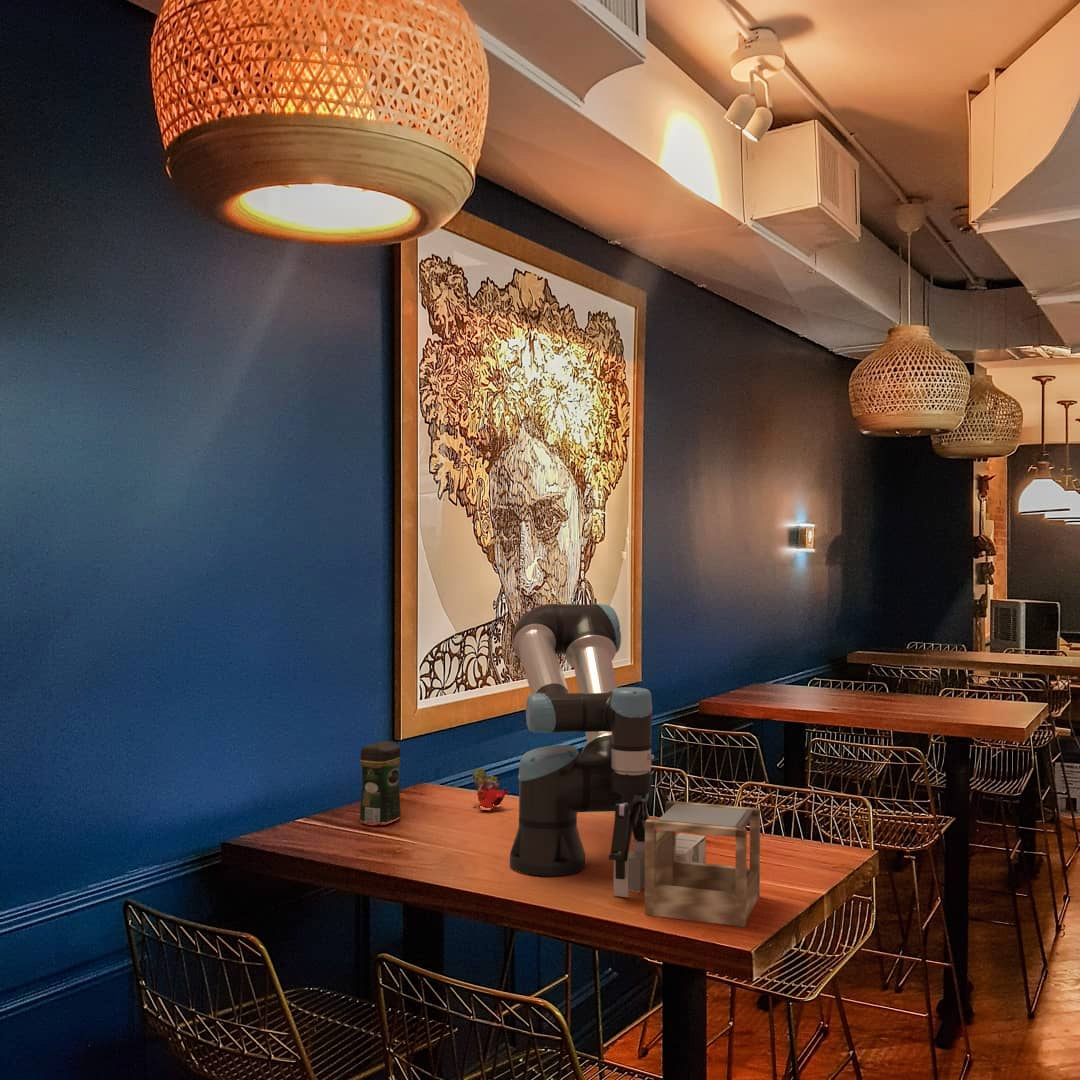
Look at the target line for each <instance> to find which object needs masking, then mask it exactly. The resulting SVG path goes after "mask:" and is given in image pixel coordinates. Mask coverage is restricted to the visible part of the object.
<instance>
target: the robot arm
mask: <svg viewBox="0 0 1080 1080" xmlns="http://www.w3.org/2000/svg"><path fill="white" fill-rule="evenodd" d="M620 628H621V624H620V620H619V617H618V615H617V612H616V611H615V609H614V608H613V607H612V606H610V605H609V604H603V603H596V602H595V603H590V604H587V603H586V604H584V603H582V604H579V603H575V604H573V603H567V604H566V603H565V604H564V603H562V604H561V603H545V604H542V605H541V604H540V605H537V606H536V607H533V608H532V609H530V610H528V611H527V612H526V613H524V614H523V615H522V616H521V617H520V618H519V620H517V623H516V624H515V627H514V629H513V632H512V636H511V639H512V641H511V643H512V646H513V650H514V653H515V655H516V656H517V657H518V659H520V660H521V662H522V666H523V671H524V673H525V677H526V680H527V683H528V688H529V690H530V693H531V694H529V695H528V696H527V698H526V700H525V701H526V702H525V719H526V727H527V728H528V730H529V731H530V732H532V733H545V734H554V733H581V732H582V733H585V738H586V744H585V745H584V747H583V748H582V751H581V752H579V750H578V748H577V747H576V746H575V745H570V744H563V745H561V744H555V745H547V746H543V747H541V746H540V747H537V748H534V749H531V750H527V751H526V752H525V753H524V754H523V755H522V756H521V758H520V761H519V768H518V776H517V778H518V780H519V782H518V786H519V788H518V792H519V793H518V827H517V830H516V834H515V837H514V840H513V844H512V847H511V849H510V853H509V867H510V866H511V867H512V868H513V869H515V870H517V871H516V872H518V871H520V872H519V873H521V872H523V873H522V874H524V873H528V874H527V875H530V874H532V875H531V876H538V875H542V876H541V877H557V876H566V875H567V874H568V875H572V874H575V873H578V872H581V871H583V870H584V869H585V868H586V854H585V853H586V852H585V850H584V846H583V843H582V840H581V837H580V834H579V830H578V813H599V812H605V813H606V812H614V821H613V829H612V839H611V845H610V846H611V847H610V854H609V855H608V860H609V861H613V896H614V897H615V896H616V897H623V898H628V897H630V891H629V860H627V859H628V853H629V851H630V847H631V842H632V851H636V852H645V821H646V820H647V819H649V818H650V817H649V810H648V804H647V802H648V799H649V797H650V796H649V795H650V793H651V791H652V761H653V760H654V759H655V755H654V754H652V736H653V735H652V728H653V727H652V726H653V725H652V723H653V721H652V720H653V708H654V707H653V703H652V701H653V700H652V693H651V691H650V690H649V689H647V688H644V687H643V688H642V687H637V686H627V687H626V686H625V687H623V686H622V687H618V686H617V685H618V684H617V679H616V675H615V671H614V666H613V665H614V664H613V660H614V658H615V657H616V654H617V653H618V652H619V651H620V648H621V643H622V632H621V629H620ZM558 655H565V661H566V662H567V664H568V665H569V666H570V667H572V668H574V674H575V679H576V680H575V681H576V686H577V692H573V693H570V690H569V687H568V685H567V681H566V679H565V676H564V673H563V670H562V668H561V664H560V662H559V658H558ZM649 820H650V819H649ZM632 836H633V838H634V840H633V841H632ZM619 852H621V853H619ZM511 867H510V868H511ZM512 868H511V869H512ZM513 869H512V870H513ZM515 870H514V871H515ZM568 875H567V876H568Z"/></svg>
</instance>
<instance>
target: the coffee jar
mask: <svg viewBox="0 0 1080 1080" xmlns="http://www.w3.org/2000/svg"><path fill="white" fill-rule="evenodd" d="M400 748H401V747H400V745H399V744H398V742H396V741H390V740H382V741H378V742H374V743H371V744H366V745H364V746H363V747H362V748H361V749H360V757H359V758H360V759H359V763H360V766H361V775H362V777H361V792H360V793H361V794H360V795H361V796H360V808H359V821H360V820H362V821H365V822H374V823H381V822H388V821H391V820H394V819H396V818H398V817H400V816H401V817H402V814H401V812H402V811H401V797H400V763H401V749H400ZM401 817H400V818H401Z"/></svg>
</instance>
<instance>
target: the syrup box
mask: <svg viewBox="0 0 1080 1080" xmlns="http://www.w3.org/2000/svg"><path fill="white" fill-rule="evenodd" d="M706 837H707V836H706V835H702V834H698V835H697V834H693V833H685V832H679V833H678V834H676V860H678V861H687V862H697V863H707V862H706V860H707V859H706V857H707V855H706V854H707V853H706V850H707V849H706V843H707V842H706V841H707V838H706Z"/></svg>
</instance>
